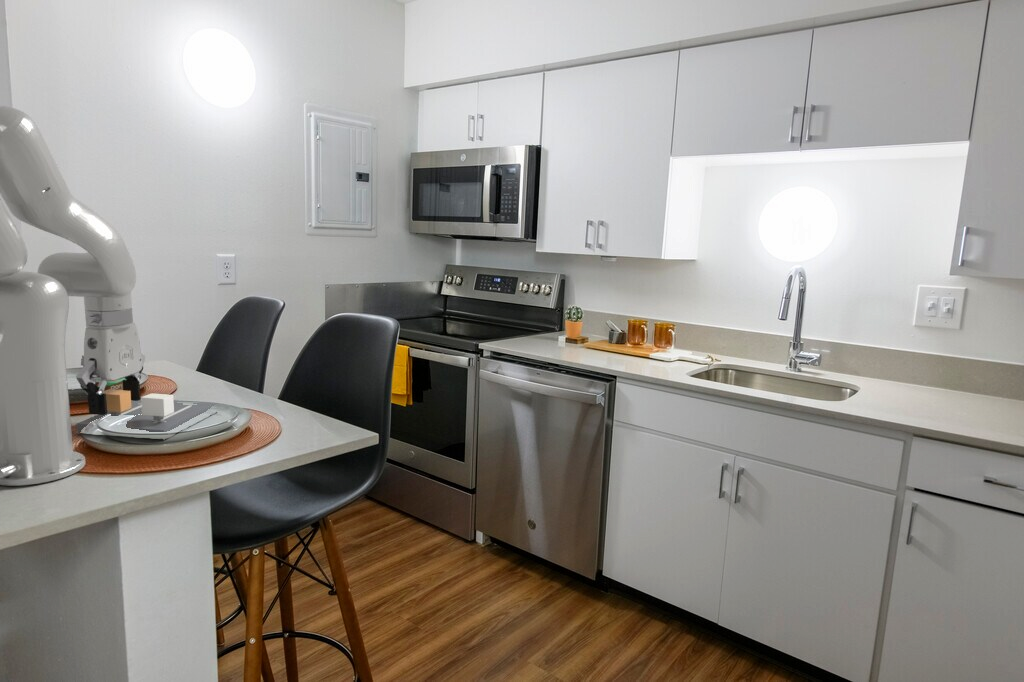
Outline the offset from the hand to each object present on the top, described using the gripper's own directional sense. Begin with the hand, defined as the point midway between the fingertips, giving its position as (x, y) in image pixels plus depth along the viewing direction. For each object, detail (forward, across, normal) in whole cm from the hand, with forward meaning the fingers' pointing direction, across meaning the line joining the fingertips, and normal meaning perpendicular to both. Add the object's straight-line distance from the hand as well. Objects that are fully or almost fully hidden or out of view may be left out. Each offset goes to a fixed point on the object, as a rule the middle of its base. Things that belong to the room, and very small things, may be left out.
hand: (115, 406), depth 124 cm
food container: (+4, +20, +15) cm, 25 cm away
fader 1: (+2, 0, 0) cm, 2 cm away
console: (+4, +4, -4) cm, 7 cm away
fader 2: (+2, -1, -9) cm, 9 cm away
